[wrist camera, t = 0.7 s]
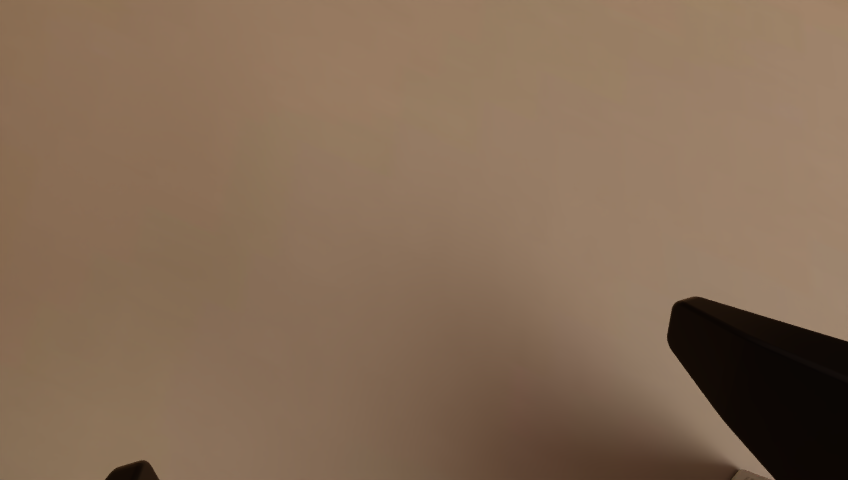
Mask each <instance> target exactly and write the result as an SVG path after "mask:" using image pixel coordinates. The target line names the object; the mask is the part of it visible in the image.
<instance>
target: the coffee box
mask: <svg viewBox="0 0 848 480" xmlns="http://www.w3.org/2000/svg"><path fill="white" fill-rule="evenodd" d="M731 480H771V479H768V478H765V477H762V476H759V475H757V474H754V473H752V472H749V471H746V470H739V471H738V472H737V473H736V474H735V476H734V477H733V478H732V479H731Z"/></svg>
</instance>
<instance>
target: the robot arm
mask: <svg viewBox="0 0 848 480" xmlns="http://www.w3.org/2000/svg"><path fill="white" fill-rule="evenodd" d="M667 341H668V344H669V346H670V348H671V350H672V352H673V353H674V354H675V356H676V357H677V358H678V360H679V361H680V362H681V364H682V365H683V367H684V368H685V369H686V371H687V372H688V373H689V375H690V376H691V378H692V379H693V380H694V382H695V383H696V384H697V386H698V387H699V388H700V390H701V391H702V393H703V394H704V395H705V397H706V398H707V399H708V401H709V402H710V403H711V405H712V406H713V408H714V409H715V410H716V411H717V413H718V414H719V415H720V417H721V418H722V419H723V420H724V422H725V423H726V424H727V425H728V426H729V428H730V429H731V430H732V431H733V432H734V433H735V435H736V436H737V437H738V438H739V439H740V440H741V441H742V442H743V444H744V445H745V446H746V447H747V448H748V449H749V450H750V452H751V453H752V454H753V455H754V456H755V457H756V458H757V459H758V461H759V462H760V463H761V464H762V465H763V466H764V467H765V469H766V470H767V471H768V472H769V473H770V474H771V475H772V477H773V478H774V479H775V480H848V342H847V341H844V340H841V339H838V338H834V337H831V336H828V335H824V334H821V333H818V332H814V331H811V330H808V329H804V328H801V327H798V326H794V325H791V324H788V323H784V322H781V321H778V320H774V319H771V318H768V317H764V316H761V315H758V314H754V313H751V312H748V311H745V310H741V309H738V308H735V307H731V306H728V305H725V304H721V303H718V302H715V301H711V300H708V299H705V298H701V297H690V298H687V299H683V300H680V301H677V302H676V303H675V304H674V305H673V307H672V311H671V316H670V322H669V327H668V333H667ZM105 480H159V479H158V477H157V475H156V473H155V471H154V470H153V468H152V466H151V465H150V464H149V462H147V461H145V460H141V461H137V462H134V463H130V464H127V465H124V466H120V467H118V468H116V469H114V470H113V471H112V472H111V473H110V474H109V475H108V477H107V478H106V479H105Z"/></svg>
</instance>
